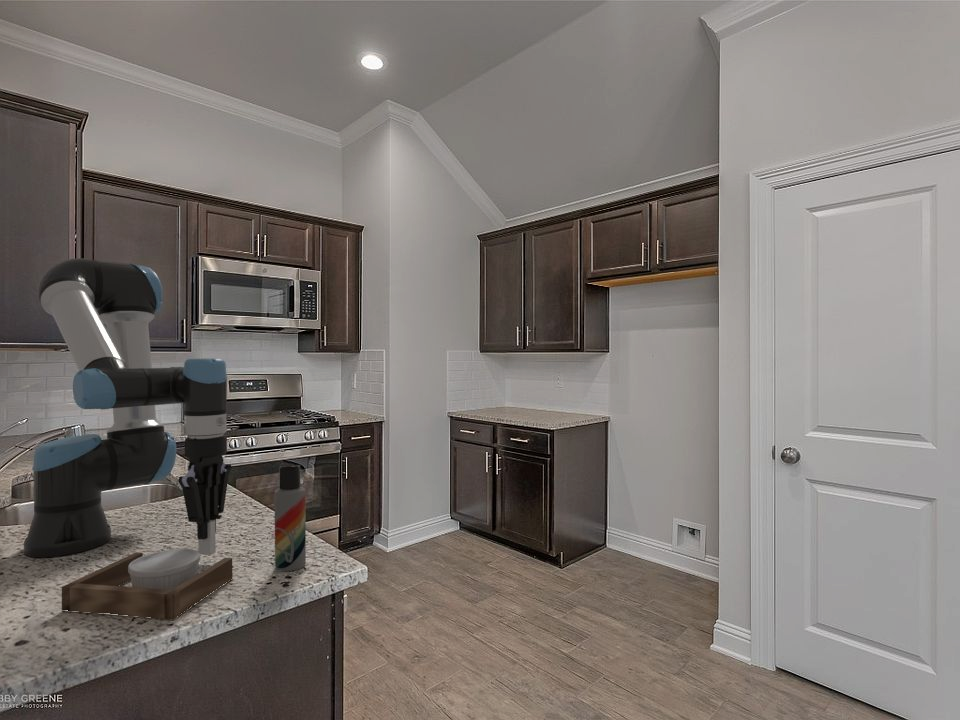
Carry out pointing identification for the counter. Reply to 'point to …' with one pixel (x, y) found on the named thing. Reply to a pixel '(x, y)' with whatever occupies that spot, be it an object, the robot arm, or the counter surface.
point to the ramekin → (164, 569)
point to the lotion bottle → (290, 520)
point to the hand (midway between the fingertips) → (207, 553)
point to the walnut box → (140, 591)
